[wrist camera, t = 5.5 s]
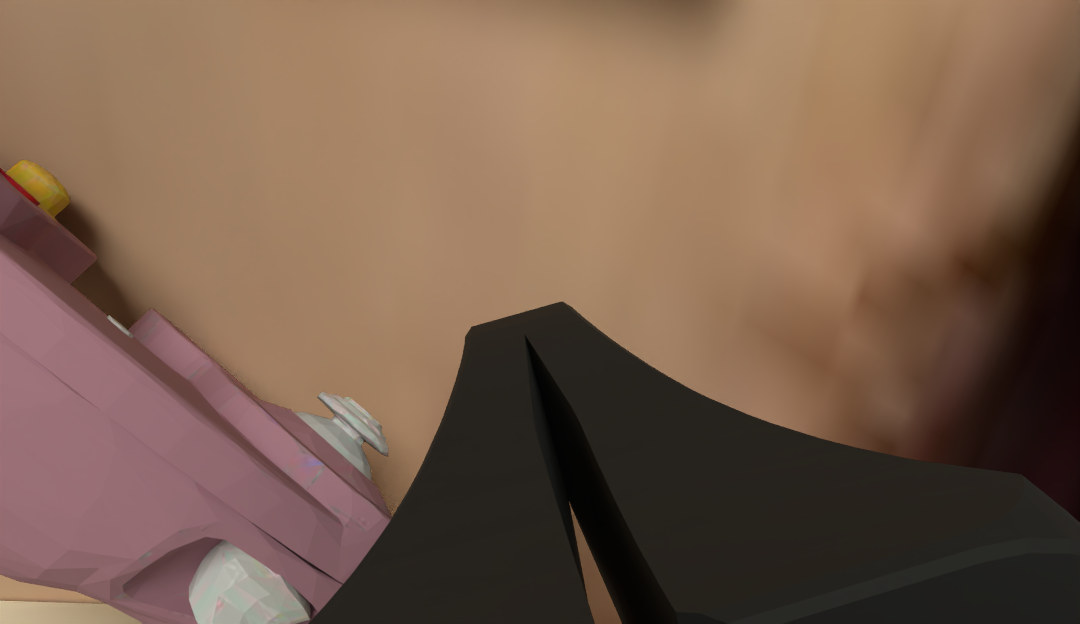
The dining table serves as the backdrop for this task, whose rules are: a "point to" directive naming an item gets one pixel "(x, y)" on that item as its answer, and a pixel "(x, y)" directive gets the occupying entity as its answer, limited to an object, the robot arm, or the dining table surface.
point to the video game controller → (159, 453)
